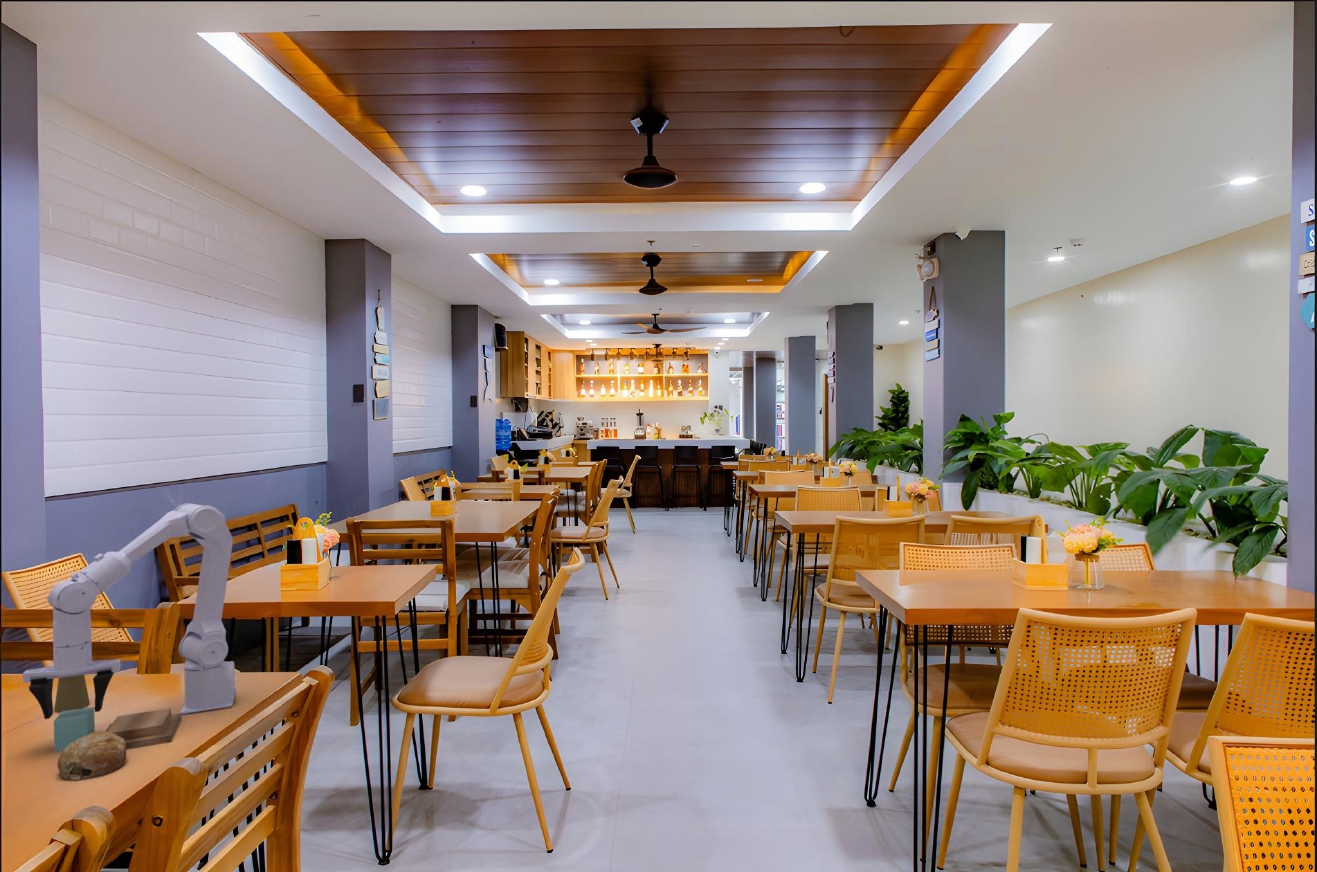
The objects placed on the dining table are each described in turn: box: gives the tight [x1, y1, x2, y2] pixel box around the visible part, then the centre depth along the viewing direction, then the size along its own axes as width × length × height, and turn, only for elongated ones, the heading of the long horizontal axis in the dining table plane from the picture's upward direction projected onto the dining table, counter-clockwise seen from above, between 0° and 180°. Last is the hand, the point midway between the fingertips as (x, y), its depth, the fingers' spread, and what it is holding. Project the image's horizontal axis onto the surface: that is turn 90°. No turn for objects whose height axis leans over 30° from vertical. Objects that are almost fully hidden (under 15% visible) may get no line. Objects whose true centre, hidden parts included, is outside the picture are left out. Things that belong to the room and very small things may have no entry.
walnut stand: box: [104, 707, 182, 750], centre depth 142 cm, size 12×12×3 cm
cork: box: [53, 675, 91, 714], centre depth 157 cm, size 6×6×11 cm
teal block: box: [53, 706, 96, 753], centre depth 139 cm, size 5×5×6 cm
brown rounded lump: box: [57, 731, 127, 782], centre depth 129 cm, size 10×10×8 cm
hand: (73, 713), depth 139 cm, fingers open, 7 cm apart
